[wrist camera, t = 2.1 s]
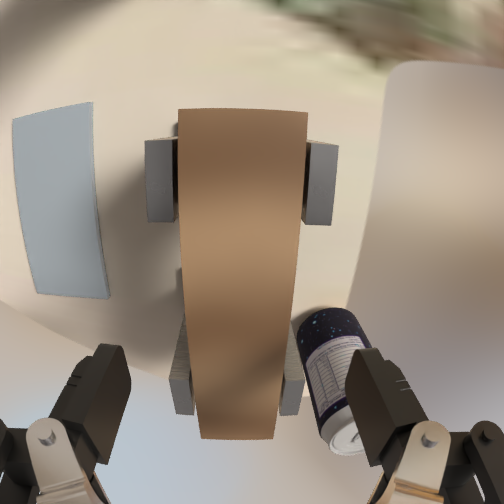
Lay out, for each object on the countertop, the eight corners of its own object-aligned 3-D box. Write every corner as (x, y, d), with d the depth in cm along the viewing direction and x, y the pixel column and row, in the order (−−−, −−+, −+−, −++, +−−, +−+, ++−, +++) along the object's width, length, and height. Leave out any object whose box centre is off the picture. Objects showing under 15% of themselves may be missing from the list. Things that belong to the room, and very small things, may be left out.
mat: (16, 118, 18) (12, 119, 17) (93, 102, 18) (89, 102, 18) (40, 290, 24) (37, 293, 24) (110, 295, 25) (107, 299, 24)
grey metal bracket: (180, 120, 20) (123, 115, 9) (301, 123, 20) (361, 121, 10) (180, 190, 21) (130, 247, 11) (297, 192, 22) (346, 250, 12)
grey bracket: (183, 266, 24) (150, 363, 14) (290, 268, 24) (324, 364, 14) (187, 319, 26) (165, 422, 16) (285, 320, 26) (308, 423, 16)
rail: (195, 114, 12) (178, 109, 9) (288, 116, 12) (308, 112, 9) (205, 389, 18) (201, 438, 15) (267, 389, 19) (272, 439, 15)
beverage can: (286, 348, 27) (309, 459, 16) (307, 296, 25) (348, 409, 14) (341, 354, 28) (379, 455, 17) (365, 307, 26) (423, 406, 15)
